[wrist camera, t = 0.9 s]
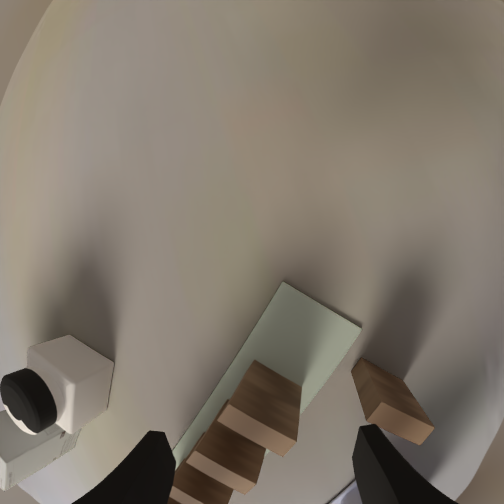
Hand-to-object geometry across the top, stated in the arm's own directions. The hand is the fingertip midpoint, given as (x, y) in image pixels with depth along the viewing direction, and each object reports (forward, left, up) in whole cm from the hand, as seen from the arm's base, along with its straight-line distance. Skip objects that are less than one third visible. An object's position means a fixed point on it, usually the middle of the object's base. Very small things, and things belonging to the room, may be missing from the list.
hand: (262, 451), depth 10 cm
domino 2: (-1, +4, -16) cm, 17 cm away
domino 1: (-1, +14, -16) cm, 22 cm away
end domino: (-9, -1, -17) cm, 19 cm away
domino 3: (-1, +9, -16) cm, 19 cm away
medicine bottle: (+16, +17, -17) cm, 29 cm away
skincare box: (+17, +27, -17) cm, 36 cm away
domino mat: (-1, +9, -17) cm, 19 cm away
